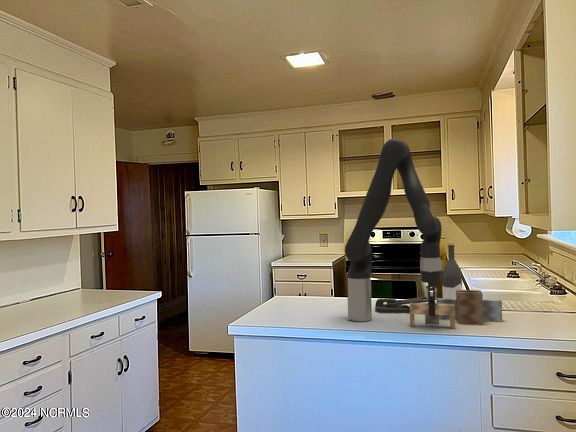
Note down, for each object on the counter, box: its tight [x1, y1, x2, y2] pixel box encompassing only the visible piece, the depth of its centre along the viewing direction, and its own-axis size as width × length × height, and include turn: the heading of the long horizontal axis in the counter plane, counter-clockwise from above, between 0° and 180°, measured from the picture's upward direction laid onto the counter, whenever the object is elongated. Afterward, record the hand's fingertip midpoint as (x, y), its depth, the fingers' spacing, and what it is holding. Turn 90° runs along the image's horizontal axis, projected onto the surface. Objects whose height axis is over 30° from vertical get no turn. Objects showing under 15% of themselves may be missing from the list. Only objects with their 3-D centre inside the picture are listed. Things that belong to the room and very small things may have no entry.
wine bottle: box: [441, 240, 463, 299], centre depth 192 cm, size 8×8×30 cm
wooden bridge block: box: [409, 302, 456, 330], centre depth 168 cm, size 16×4×8 cm, turn 73°
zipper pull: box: [374, 296, 428, 314], centre depth 194 cm, size 9×7×25 cm
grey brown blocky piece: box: [435, 289, 503, 326], centre depth 174 cm, size 24×8×12 cm, turn 73°
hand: (432, 314), depth 168 cm, fingers closed on wooden bridge block, 3 cm apart
